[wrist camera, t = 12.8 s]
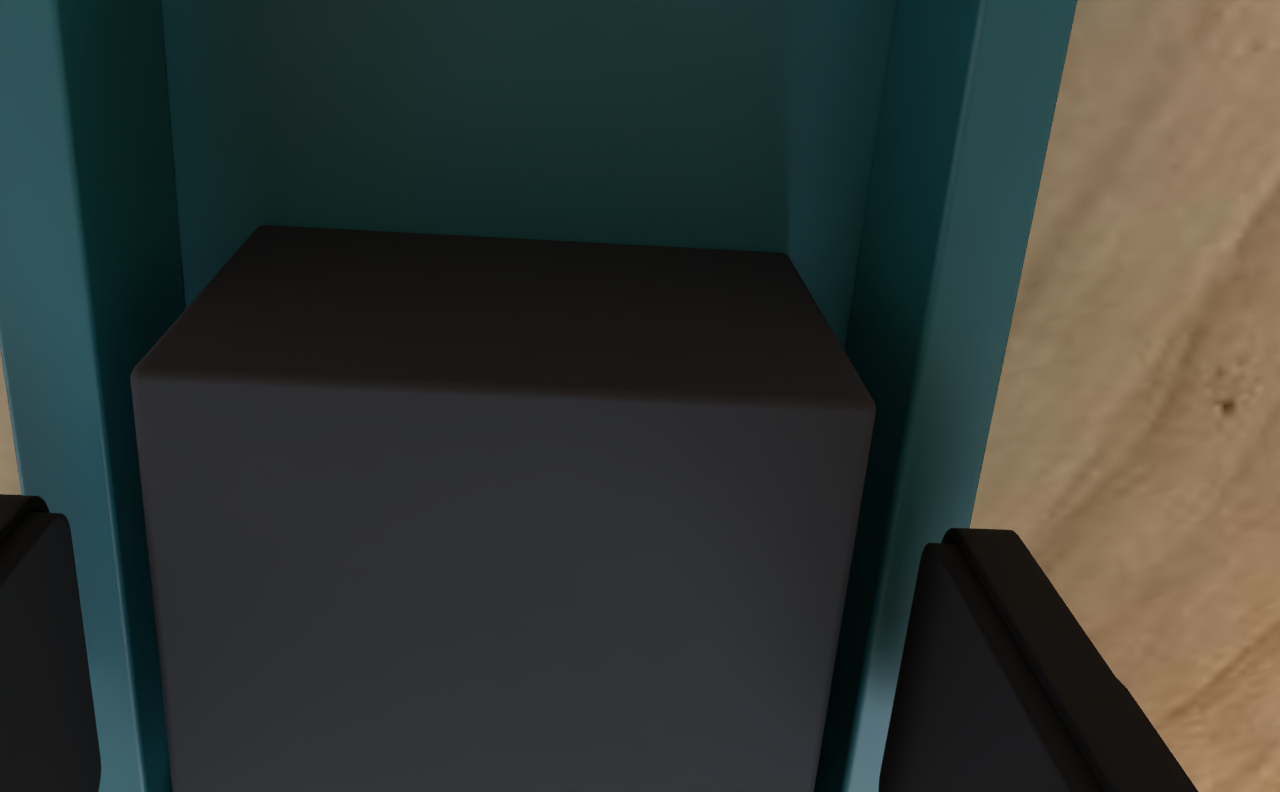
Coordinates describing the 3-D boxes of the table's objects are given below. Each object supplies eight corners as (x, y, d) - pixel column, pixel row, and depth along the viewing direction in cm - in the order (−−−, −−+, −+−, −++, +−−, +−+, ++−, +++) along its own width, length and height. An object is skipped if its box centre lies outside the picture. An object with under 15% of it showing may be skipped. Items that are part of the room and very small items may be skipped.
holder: (19, -731, 10) (-197, -973, 7) (1063, -611, 10) (1244, -789, 8) (170, 741, 15) (83, 930, 13) (832, 754, 16) (888, 935, 13)
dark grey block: (257, 222, 12) (125, 370, 9) (789, 251, 13) (880, 402, 9) (283, 703, 15) (188, 981, 11) (731, 713, 15) (785, 983, 11)
